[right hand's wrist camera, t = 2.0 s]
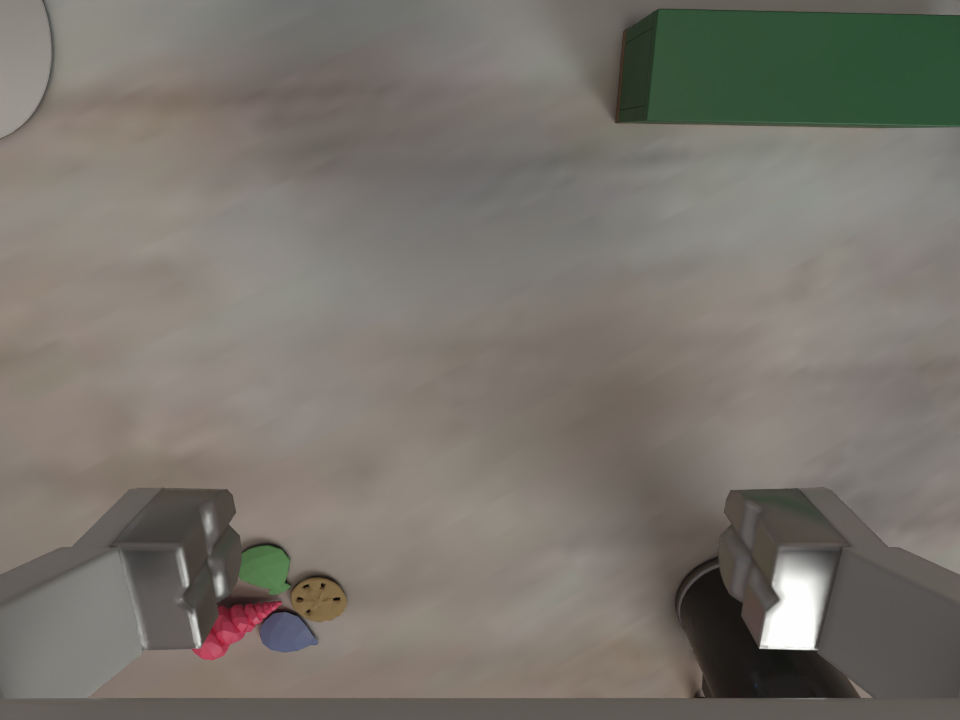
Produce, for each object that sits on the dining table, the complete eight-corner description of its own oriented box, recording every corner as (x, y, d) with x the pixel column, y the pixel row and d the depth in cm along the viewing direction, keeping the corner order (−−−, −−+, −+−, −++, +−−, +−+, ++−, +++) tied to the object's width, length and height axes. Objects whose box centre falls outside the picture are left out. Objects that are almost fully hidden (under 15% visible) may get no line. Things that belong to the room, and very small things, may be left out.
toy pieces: (263, 673, 56) (246, 715, 52) (177, 591, 53) (152, 630, 49) (367, 614, 54) (358, 654, 50) (284, 525, 51) (268, 560, 47)
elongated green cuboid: (898, 37, 39) (995, 15, 31) (877, 128, 40) (965, 127, 33) (623, 31, 38) (657, 8, 31) (615, 123, 40) (646, 120, 33)
